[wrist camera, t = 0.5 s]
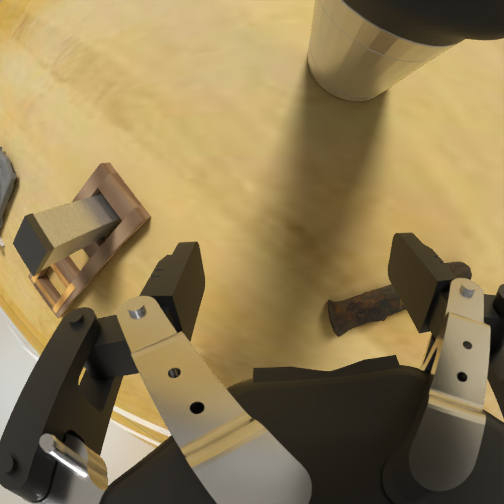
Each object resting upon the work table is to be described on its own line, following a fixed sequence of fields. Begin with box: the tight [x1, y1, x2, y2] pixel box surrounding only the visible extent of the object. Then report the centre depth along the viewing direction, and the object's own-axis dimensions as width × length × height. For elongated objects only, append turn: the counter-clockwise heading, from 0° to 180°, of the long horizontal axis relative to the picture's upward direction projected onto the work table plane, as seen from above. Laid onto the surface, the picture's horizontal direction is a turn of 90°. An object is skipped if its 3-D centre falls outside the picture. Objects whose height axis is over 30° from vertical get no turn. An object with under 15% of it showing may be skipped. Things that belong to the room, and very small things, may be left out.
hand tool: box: [327, 262, 472, 337], centre depth 29 cm, size 19×4×5 cm, turn 110°
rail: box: [28, 163, 151, 318], centre depth 35 cm, size 26×9×2 cm, turn 129°
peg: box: [13, 194, 121, 277], centre depth 27 cm, size 4×4×14 cm
